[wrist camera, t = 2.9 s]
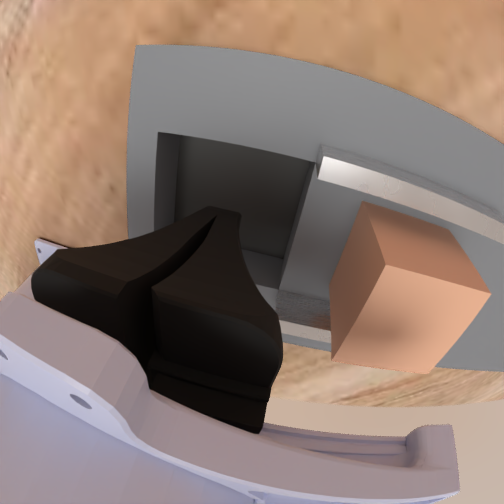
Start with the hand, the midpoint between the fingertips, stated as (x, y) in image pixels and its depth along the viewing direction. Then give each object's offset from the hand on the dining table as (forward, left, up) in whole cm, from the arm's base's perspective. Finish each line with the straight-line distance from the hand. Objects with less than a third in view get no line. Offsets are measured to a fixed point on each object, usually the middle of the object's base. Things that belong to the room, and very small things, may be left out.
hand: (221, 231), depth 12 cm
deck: (0, -9, -4) cm, 10 cm away
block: (0, -7, -1) cm, 8 cm away
